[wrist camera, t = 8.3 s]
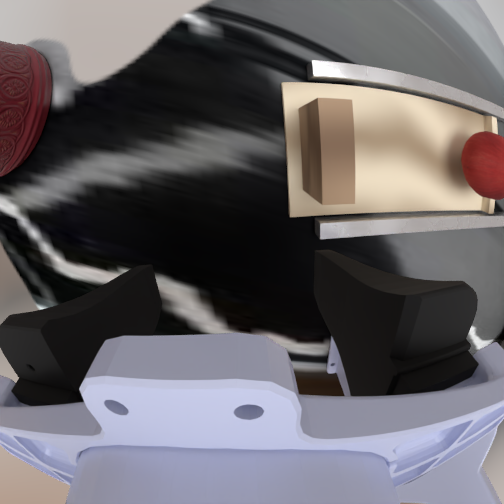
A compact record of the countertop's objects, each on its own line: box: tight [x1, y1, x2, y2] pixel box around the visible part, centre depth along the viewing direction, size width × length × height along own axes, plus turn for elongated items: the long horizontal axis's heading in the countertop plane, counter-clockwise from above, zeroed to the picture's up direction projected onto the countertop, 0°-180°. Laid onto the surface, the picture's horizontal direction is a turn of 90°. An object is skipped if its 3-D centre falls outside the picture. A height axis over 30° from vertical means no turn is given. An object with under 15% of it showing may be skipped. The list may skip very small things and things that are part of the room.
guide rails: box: [307, 60, 504, 239], centre depth 18 cm, size 13×30×2 cm, turn 94°
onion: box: [461, 131, 504, 200], centre depth 15 cm, size 6×6×8 cm
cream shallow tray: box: [281, 82, 498, 217], centre depth 16 cm, size 10×22×6 cm, turn 94°
